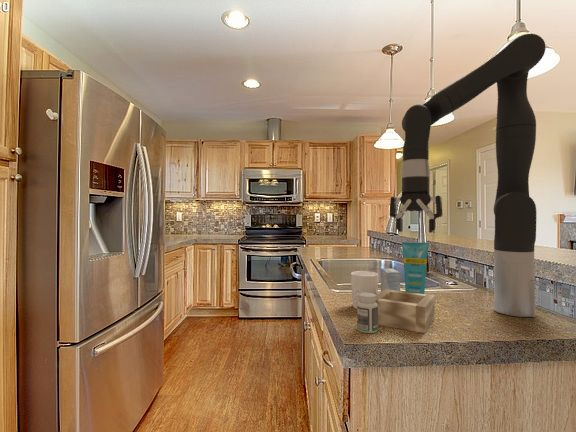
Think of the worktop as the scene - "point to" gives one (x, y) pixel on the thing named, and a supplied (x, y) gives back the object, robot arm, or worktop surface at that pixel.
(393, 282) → the medicine box
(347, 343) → the worktop surface
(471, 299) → the worktop surface
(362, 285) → the white cup
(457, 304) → the worktop surface
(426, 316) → the socket holder
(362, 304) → the pill bottle
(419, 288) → the tube
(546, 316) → the worktop surface
